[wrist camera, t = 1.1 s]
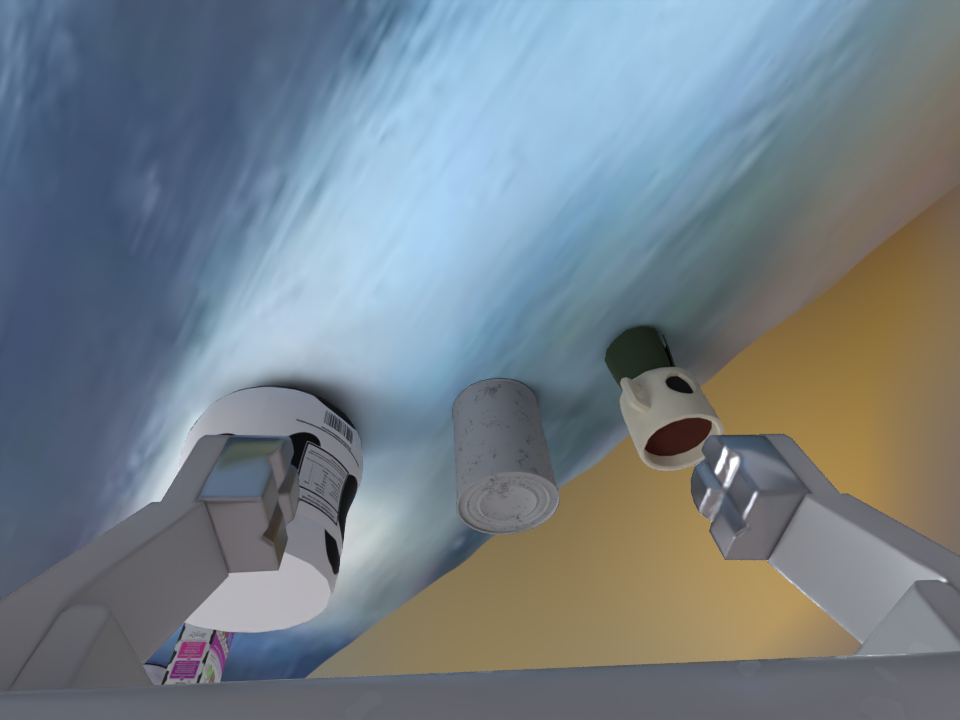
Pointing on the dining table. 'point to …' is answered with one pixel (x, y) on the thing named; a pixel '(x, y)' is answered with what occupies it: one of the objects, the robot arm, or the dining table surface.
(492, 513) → the grey tin can
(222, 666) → the candy bar box
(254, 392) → the milk container
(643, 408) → the character mug
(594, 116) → the dining table surface
